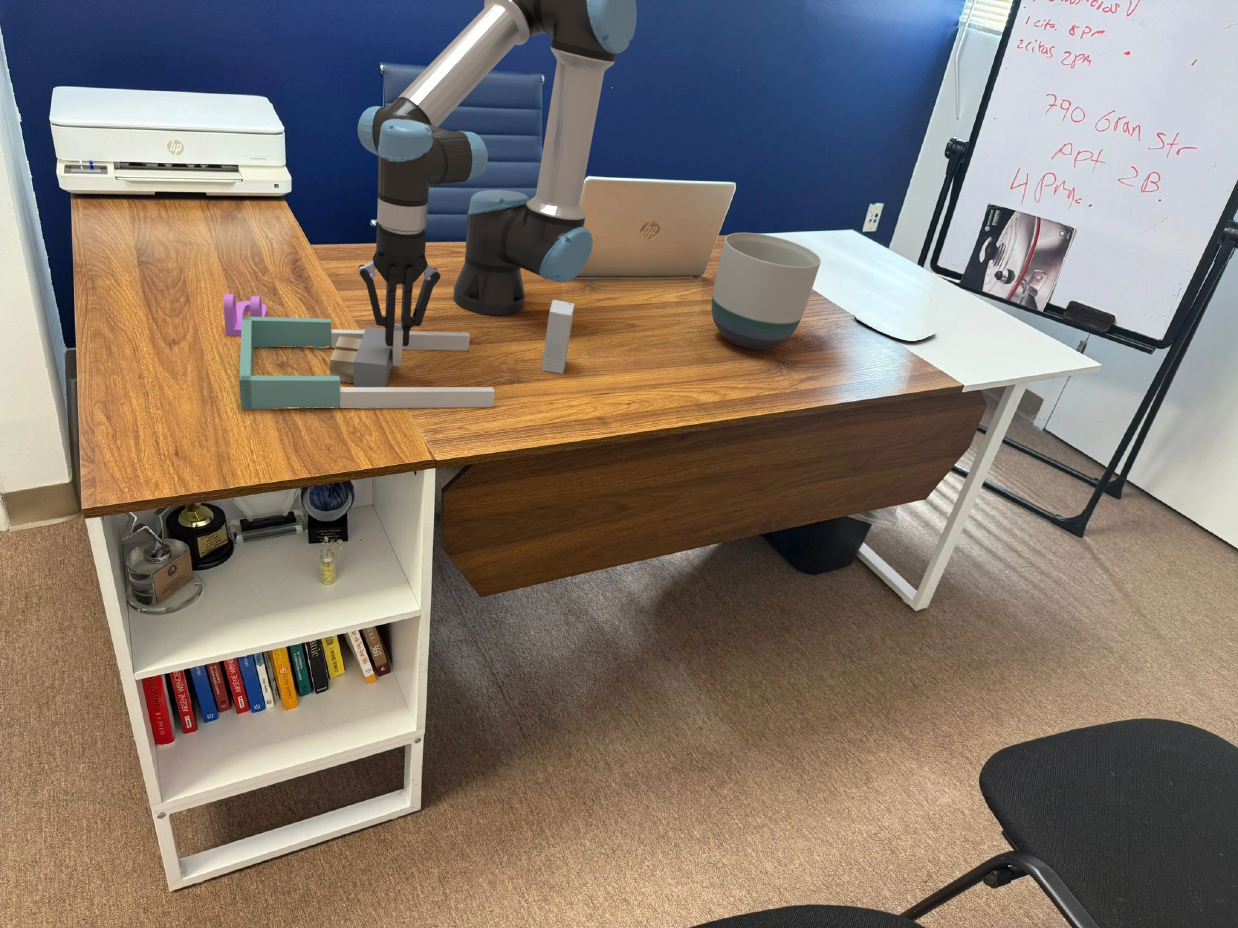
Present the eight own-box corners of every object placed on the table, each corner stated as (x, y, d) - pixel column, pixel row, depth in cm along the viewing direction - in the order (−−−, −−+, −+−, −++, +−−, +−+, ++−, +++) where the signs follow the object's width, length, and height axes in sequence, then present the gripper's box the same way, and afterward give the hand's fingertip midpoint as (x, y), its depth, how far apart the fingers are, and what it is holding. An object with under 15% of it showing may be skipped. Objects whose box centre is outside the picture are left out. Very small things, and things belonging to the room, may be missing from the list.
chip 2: (358, 373, 144) (359, 352, 142) (355, 384, 140) (355, 362, 138) (334, 370, 143) (334, 349, 141) (329, 381, 140) (329, 359, 138)
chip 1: (362, 360, 148) (363, 339, 146) (359, 370, 145) (359, 349, 143) (339, 357, 147) (339, 336, 145) (335, 367, 144) (335, 346, 142)
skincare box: (544, 357, 162) (552, 298, 156) (566, 361, 162) (575, 303, 156) (540, 370, 157) (549, 310, 151) (563, 374, 157) (572, 315, 151)
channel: (467, 347, 160) (468, 332, 158) (492, 407, 142) (494, 391, 140) (330, 344, 151) (330, 329, 149) (340, 408, 133) (340, 391, 131)
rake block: (394, 355, 152) (395, 330, 149) (384, 392, 140) (385, 365, 137) (365, 352, 151) (366, 326, 148) (353, 388, 139) (353, 361, 136)
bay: (330, 344, 151) (330, 318, 148) (339, 408, 133) (339, 380, 130) (243, 343, 145) (241, 316, 143) (241, 409, 128) (239, 380, 125)
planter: (739, 318, 199) (763, 229, 188) (809, 353, 188) (839, 261, 177) (682, 331, 185) (705, 236, 174) (754, 371, 174) (783, 272, 163)
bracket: (260, 338, 148) (258, 301, 145) (225, 336, 147) (223, 298, 143) (268, 309, 159) (267, 273, 155) (236, 306, 157) (234, 271, 154)
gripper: (439, 221, 137) (430, 353, 149) (356, 216, 132) (354, 352, 144) (447, 237, 131) (438, 372, 144) (361, 231, 127) (358, 372, 139)
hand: (396, 362), depth 144 cm, fingers closed
